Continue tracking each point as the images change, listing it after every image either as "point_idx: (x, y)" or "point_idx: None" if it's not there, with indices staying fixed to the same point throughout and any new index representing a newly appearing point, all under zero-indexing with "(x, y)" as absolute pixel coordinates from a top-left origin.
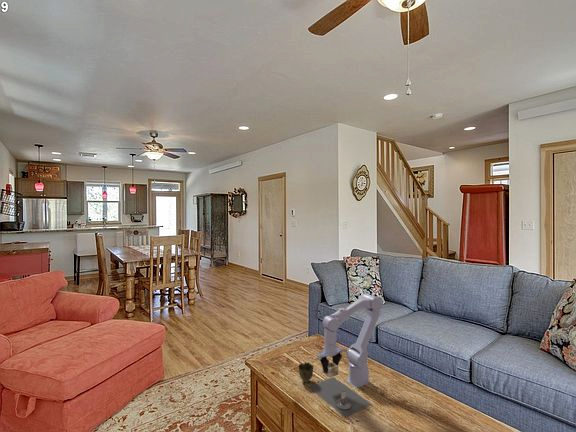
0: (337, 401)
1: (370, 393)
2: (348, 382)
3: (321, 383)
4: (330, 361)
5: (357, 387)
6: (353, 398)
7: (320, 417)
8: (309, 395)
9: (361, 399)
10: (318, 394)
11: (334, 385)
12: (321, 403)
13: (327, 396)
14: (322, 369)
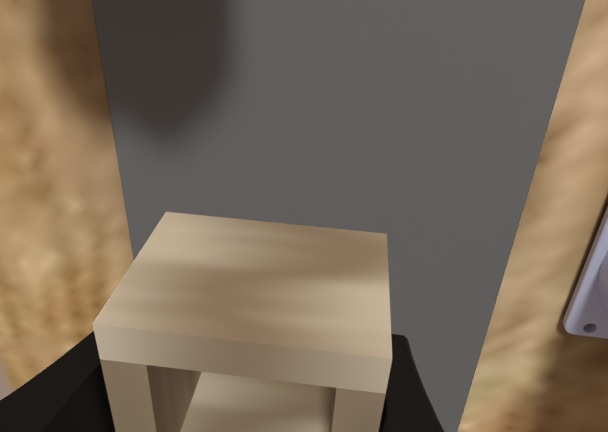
0: None
1: (584, 422)
2: (604, 223)
3: (298, 20)
4: (369, 357)
5: (577, 333)
6: None
7: (12, 353)
8: (39, 108)
9: None
10: (128, 170)
11: (408, 161)
12: (96, 263)
13: None
14: (146, 248)
